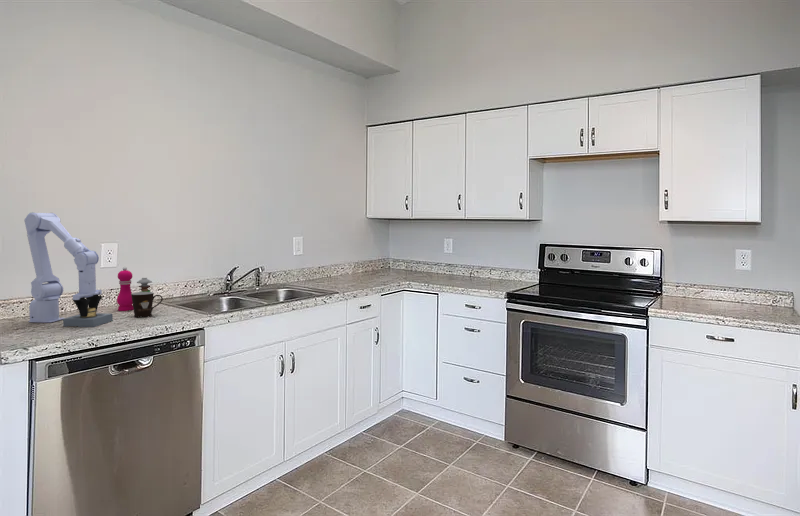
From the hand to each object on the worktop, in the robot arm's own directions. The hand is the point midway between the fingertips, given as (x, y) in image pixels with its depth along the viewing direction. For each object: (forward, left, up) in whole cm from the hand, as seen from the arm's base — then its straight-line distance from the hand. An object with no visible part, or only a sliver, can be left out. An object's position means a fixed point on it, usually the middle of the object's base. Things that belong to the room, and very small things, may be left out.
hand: (88, 315), depth 194 cm
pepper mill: (-3, +30, -4) cm, 31 cm away
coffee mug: (+14, +17, -4) cm, 23 cm away
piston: (0, 0, -3) cm, 3 cm away
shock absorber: (+6, +30, -4) cm, 31 cm away
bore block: (0, 0, -3) cm, 3 cm away
